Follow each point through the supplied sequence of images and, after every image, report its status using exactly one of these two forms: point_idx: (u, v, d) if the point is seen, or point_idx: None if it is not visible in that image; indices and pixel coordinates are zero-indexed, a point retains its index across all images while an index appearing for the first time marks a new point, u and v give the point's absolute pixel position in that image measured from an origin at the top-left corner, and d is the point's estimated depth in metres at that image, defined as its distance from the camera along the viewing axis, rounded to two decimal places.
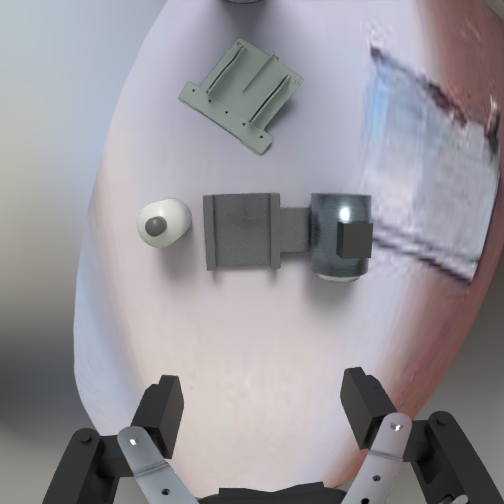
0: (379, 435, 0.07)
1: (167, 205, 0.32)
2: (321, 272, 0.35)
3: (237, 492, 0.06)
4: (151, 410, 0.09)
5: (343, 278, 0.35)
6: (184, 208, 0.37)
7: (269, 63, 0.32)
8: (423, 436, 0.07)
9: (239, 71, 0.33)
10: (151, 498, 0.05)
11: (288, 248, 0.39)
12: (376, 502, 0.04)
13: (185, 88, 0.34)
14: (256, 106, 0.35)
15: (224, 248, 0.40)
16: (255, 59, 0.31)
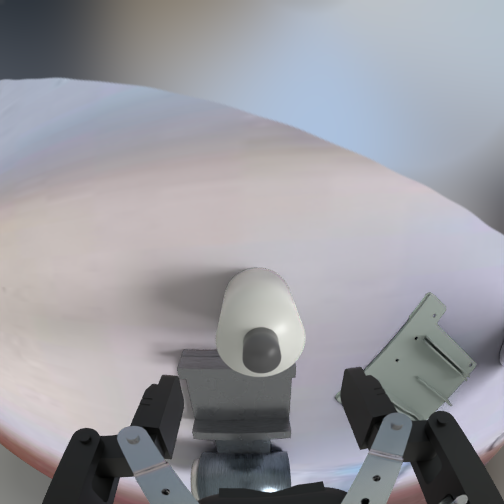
0: (379, 435, 0.07)
1: (296, 357, 0.17)
2: (200, 484, 0.22)
3: (237, 492, 0.06)
4: (150, 410, 0.09)
5: (197, 497, 0.22)
6: None
7: (439, 398, 0.24)
8: (423, 436, 0.07)
9: (441, 370, 0.24)
10: (151, 498, 0.05)
11: (219, 439, 0.25)
12: (376, 502, 0.04)
13: (439, 304, 0.23)
14: (395, 391, 0.25)
15: None
16: (448, 385, 0.23)
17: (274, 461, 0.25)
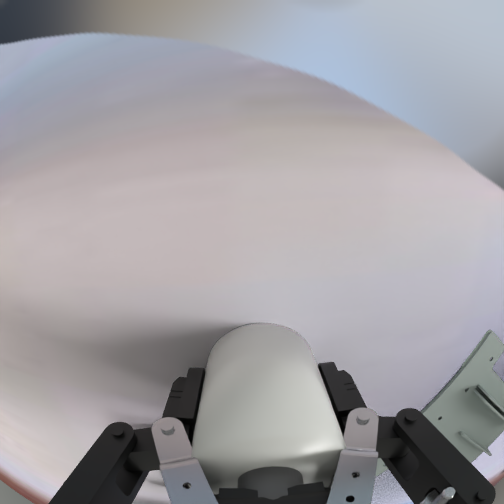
0: (347, 432, 0.08)
1: None
2: None
3: (237, 492, 0.06)
4: (182, 401, 0.10)
5: None
6: None
7: (478, 449, 0.14)
8: (390, 433, 0.08)
9: (486, 420, 0.14)
10: (171, 490, 0.05)
11: None
12: (361, 498, 0.05)
13: (499, 343, 0.14)
14: None
15: None
16: (491, 434, 0.14)
17: None
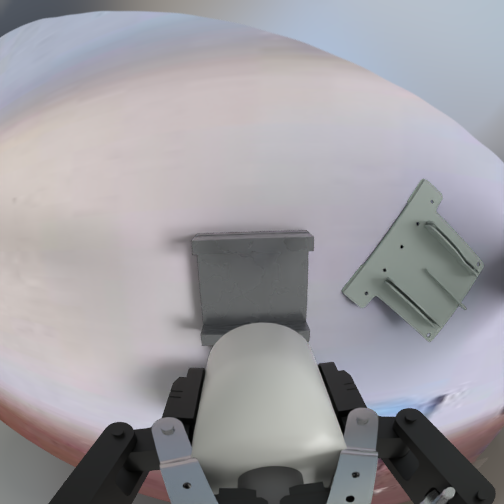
0: (347, 432, 0.08)
1: None
2: None
3: (237, 492, 0.06)
4: (182, 401, 0.10)
5: None
6: None
7: (452, 302, 0.25)
8: (391, 433, 0.08)
9: (448, 265, 0.25)
10: (171, 490, 0.05)
11: None
12: (361, 498, 0.05)
13: (435, 190, 0.24)
14: (405, 286, 0.26)
15: (225, 261, 0.25)
16: (459, 285, 0.24)
17: None
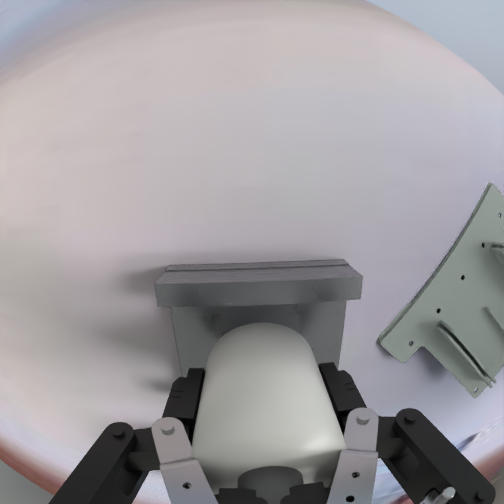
0: (347, 432, 0.08)
1: None
2: None
3: (237, 492, 0.06)
4: (182, 401, 0.10)
5: None
6: None
7: None
8: (390, 433, 0.08)
9: None
10: (171, 490, 0.05)
11: None
12: (361, 498, 0.05)
13: (503, 199, 0.14)
14: (460, 332, 0.16)
15: (214, 310, 0.15)
16: None
17: None
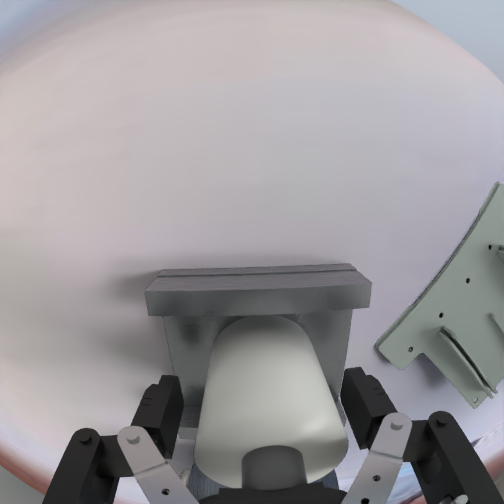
0: (379, 435, 0.07)
1: (328, 470, 0.08)
2: None
3: (237, 492, 0.06)
4: (151, 410, 0.09)
5: None
6: None
7: None
8: (423, 436, 0.07)
9: None
10: (151, 498, 0.05)
11: None
12: (376, 502, 0.04)
13: None
14: (463, 339, 0.15)
15: (210, 319, 0.14)
16: None
17: None
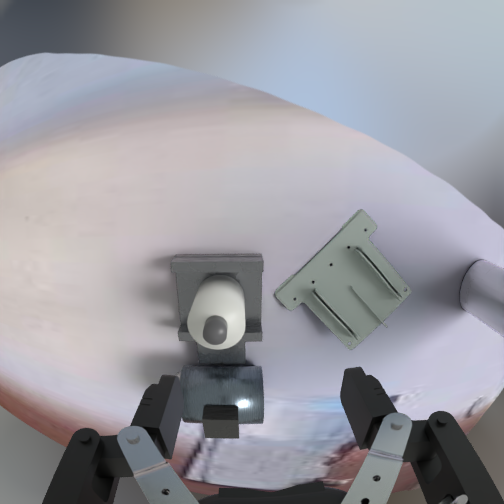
0: (379, 435, 0.07)
1: (240, 337, 0.27)
2: (181, 388, 0.30)
3: (237, 492, 0.06)
4: (150, 410, 0.09)
5: None
6: None
7: (375, 319, 0.33)
8: (423, 436, 0.07)
9: (374, 286, 0.32)
10: (151, 498, 0.05)
11: (201, 345, 0.34)
12: (376, 502, 0.04)
13: (370, 220, 0.32)
14: (330, 298, 0.33)
15: (197, 276, 0.32)
16: (383, 305, 0.32)
17: (248, 370, 0.33)
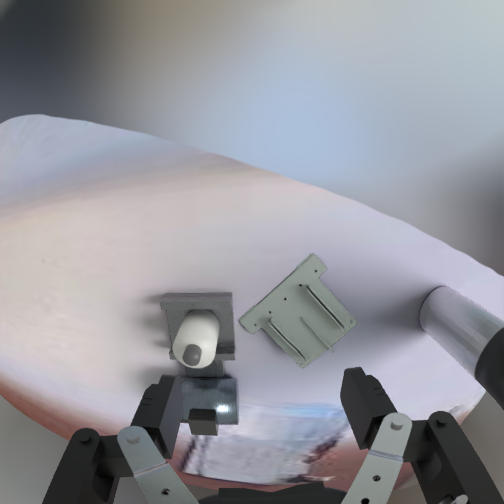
0: (379, 435, 0.07)
1: (211, 359, 0.35)
2: None
3: (237, 492, 0.06)
4: (151, 410, 0.09)
5: None
6: None
7: (323, 344, 0.40)
8: (423, 436, 0.07)
9: (322, 317, 0.40)
10: (151, 498, 0.05)
11: None
12: (376, 502, 0.04)
13: (320, 263, 0.39)
14: (284, 326, 0.41)
15: (182, 310, 0.40)
16: (330, 333, 0.40)
17: (226, 382, 0.41)
